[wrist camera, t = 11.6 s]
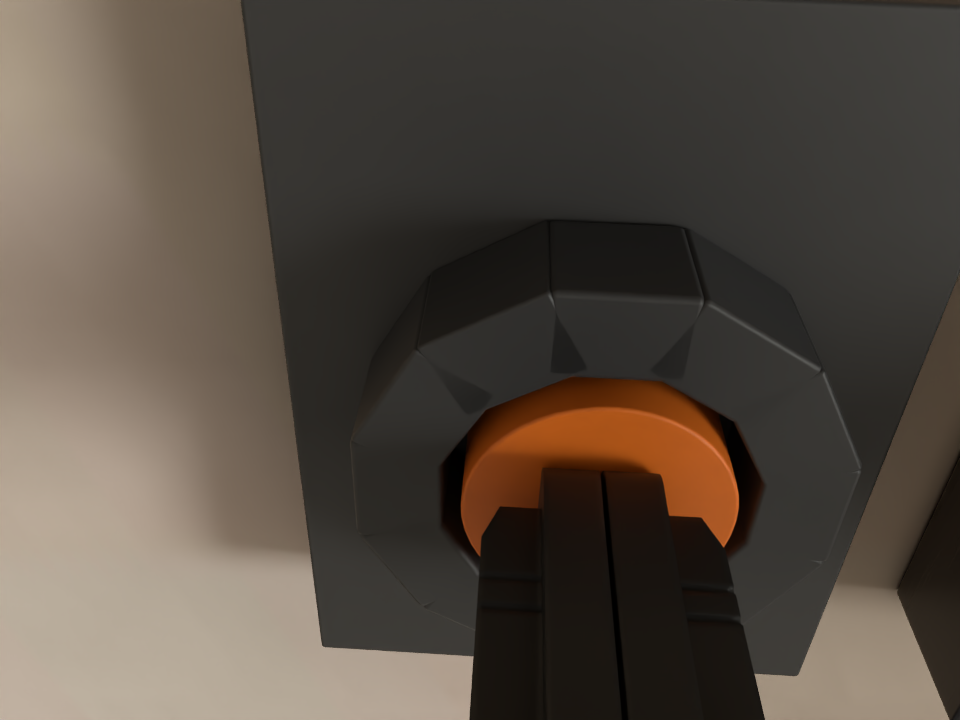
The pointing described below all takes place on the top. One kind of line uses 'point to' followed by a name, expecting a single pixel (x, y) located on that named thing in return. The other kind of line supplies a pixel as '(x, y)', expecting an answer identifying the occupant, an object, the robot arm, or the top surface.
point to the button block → (600, 263)
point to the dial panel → (938, 596)
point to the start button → (599, 448)
